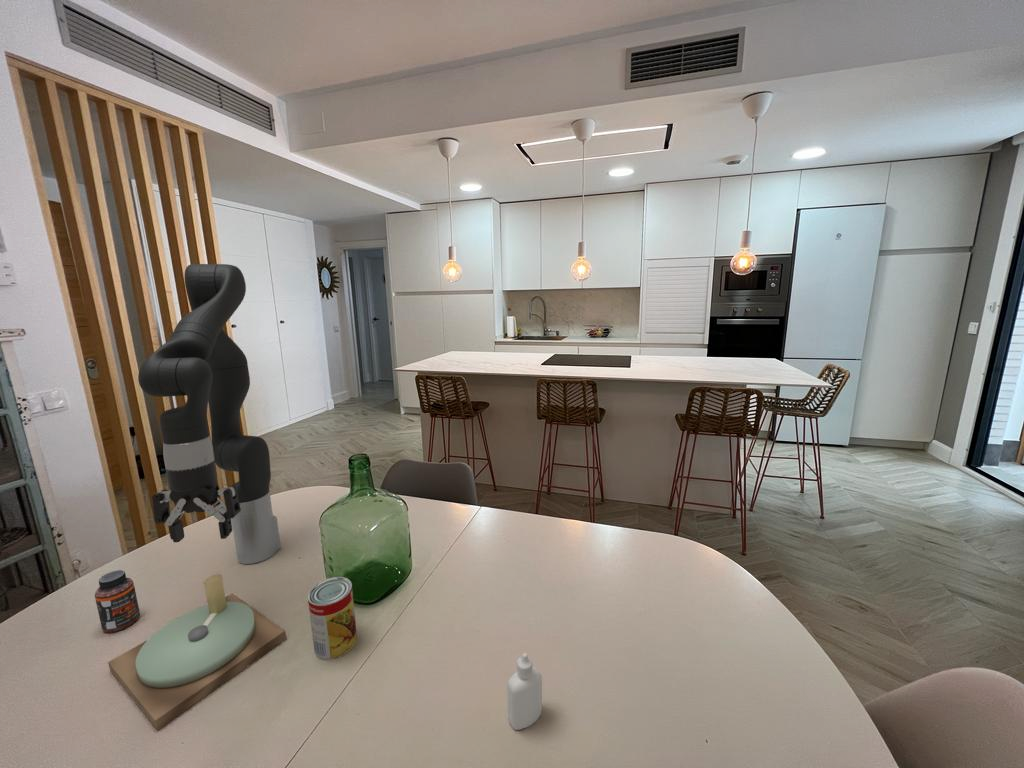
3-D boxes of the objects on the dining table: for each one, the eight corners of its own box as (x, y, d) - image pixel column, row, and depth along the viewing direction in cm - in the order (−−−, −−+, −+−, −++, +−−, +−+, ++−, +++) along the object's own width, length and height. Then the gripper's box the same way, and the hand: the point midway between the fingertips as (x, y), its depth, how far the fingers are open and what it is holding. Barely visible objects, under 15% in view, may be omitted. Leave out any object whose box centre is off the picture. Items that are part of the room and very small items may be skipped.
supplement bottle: (117, 636, 84) (105, 587, 82) (94, 631, 85) (82, 583, 83) (148, 614, 90) (138, 568, 88) (126, 610, 91) (115, 565, 89)
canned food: (365, 633, 84) (360, 581, 82) (337, 664, 77) (331, 609, 75) (334, 623, 87) (328, 573, 84) (304, 653, 80) (297, 599, 77)
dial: (227, 679, 72) (219, 635, 70) (110, 695, 69) (98, 649, 67) (270, 605, 89) (264, 568, 87) (178, 615, 87) (170, 577, 85)
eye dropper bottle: (507, 704, 69) (506, 643, 67) (540, 703, 69) (541, 642, 67) (508, 731, 65) (507, 667, 62) (543, 730, 65) (544, 666, 63)
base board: (233, 600, 94) (231, 592, 93) (286, 638, 83) (285, 629, 83) (110, 671, 76) (107, 660, 76) (157, 730, 65) (154, 719, 65)
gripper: (240, 452, 84) (250, 526, 87) (163, 456, 82) (176, 531, 85) (219, 466, 76) (230, 546, 79) (134, 471, 75) (149, 552, 78)
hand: (202, 538), depth 82 cm, fingers open, 8 cm apart
